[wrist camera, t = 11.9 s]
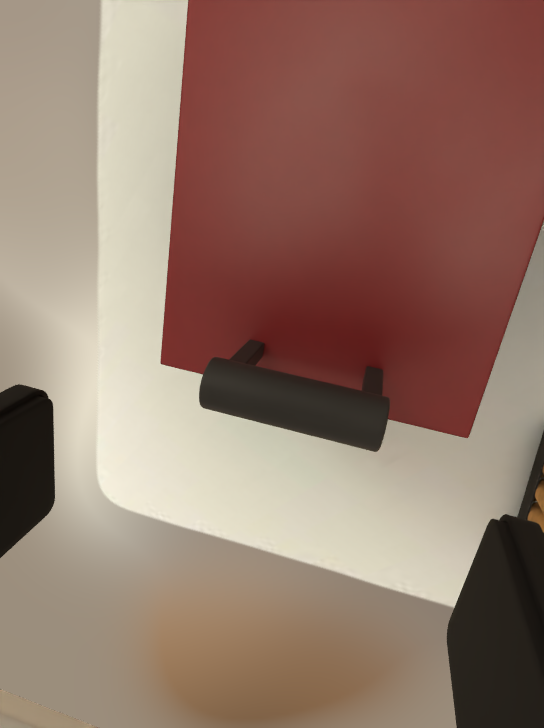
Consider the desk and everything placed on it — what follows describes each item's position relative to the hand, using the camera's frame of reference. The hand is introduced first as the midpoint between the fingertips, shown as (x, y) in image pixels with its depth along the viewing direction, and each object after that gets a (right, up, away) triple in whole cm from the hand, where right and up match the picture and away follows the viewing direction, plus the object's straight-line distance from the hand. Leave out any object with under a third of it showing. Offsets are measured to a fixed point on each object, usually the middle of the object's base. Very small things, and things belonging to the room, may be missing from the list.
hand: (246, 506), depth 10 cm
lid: (+3, +10, +8) cm, 13 cm away
